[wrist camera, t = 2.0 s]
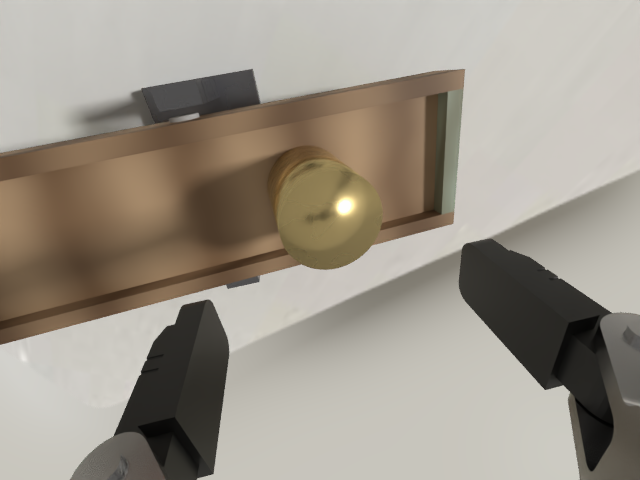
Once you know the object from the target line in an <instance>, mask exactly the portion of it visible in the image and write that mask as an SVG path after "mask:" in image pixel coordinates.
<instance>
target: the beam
mask: <svg viewBox="0 0 640 480" xmlns="http://www.w3.org/2000/svg"><path fill="white" fill-rule="evenodd" d="M464 74H465V69H461V70H443V71H432V72H427V73H422V74H417V75H411V76H406V77H401V78H395V79H390V80H385V81H379V82H374V83H369V84H364V85H358V86H353V87H348V88H342V89H337V90H332V91H327V92H321V93H316V94H311V95H305V96H300V97H295V98H290V99H284V100H279V101H274V102H268V103H263V104H258V105H253V106H247V107H242V108H237V109H231V110H226V111H221V112H216V113H210V114H205V115H200V116H199V113H191V114H186V115H181V116H176V117H172V118H169V121H168V122H163V123H157V124H152V125H147V126H141V127H136V128H131V129H126V130H120V131H115V132H110V133H104V134H99V135H94V136H89V137H83V138H78V139H73V140H67V141H62V142H57V143H52V144H46V145H41V146H36V147H30V148H25V149H20V150H15V151H9V152H4V153H0V345H1V344H5V343H9V342H12V341H16V340H20V339H24V338H27V337H31V336H35V335H39V334H42V333H46V332H50V331H54V330H57V329H61V328H65V327H69V326H72V325H76V324H80V323H84V322H87V321H91V320H95V319H98V318H102V317H106V316H110V315H113V314H117V313H121V312H125V311H128V310H132V309H136V308H140V307H143V306H147V305H151V304H155V303H158V302H162V301H166V300H170V299H173V298H177V297H181V296H184V295H188V294H192V293H196V292H199V291H203V290H207V289H211V288H214V287H218V286H222V285H226V284H229V283H233V282H237V281H241V280H244V279H248V278H252V277H256V276H259V275H263V274H267V273H270V272H274V271H278V270H282V269H285V268H289V267H293V266H297V265H300V264H301V263H299V262H297V261H296V260H295V259H293V258H292V257H291V256H290V255H289V254H288V252H287V251H286V249H285V248H284V246H283V244H282V241H281V238H280V234H279V231H278V227H277V224H276V220H275V217H274V213H273V209H272V206H271V202H270V199H269V195H268V190H267V182H268V176H269V173H270V170H271V168H272V166H273V165H274V163H275V162H276V160H277V159H278V158H279V157H280V156H281V155H283V154H284V153H285V152H287V151H289V150H290V149H293V148H295V147H299V146H317V147H320V148H323V149H325V150H327V151H328V152H330V153H331V154H332V155H334V156H335V157H336V158H338V159H339V160H340V161H342V162H343V163H344V164H346V165H347V166H348V167H350V168H351V169H352V170H354V171H355V172H356V173H358V174H359V175H360V176H362V177H363V178H364V179H366V180H367V181H368V182H369V183H370V184H371V185H372V186H373V187H374V188H375V190H376V192H377V193H378V195H379V198H380V200H381V204H382V210H383V218H382V224H381V228H380V231H379V234H378V236H377V238H376V240H375V241H374V243H373V244H372V245H375V244H379V243H383V242H386V241H390V240H394V239H398V238H401V237H405V236H409V235H413V234H416V233H420V232H424V231H428V230H431V229H435V228H439V227H443V226H446V225H450V224H453V220H454V207H455V194H456V180H457V167H458V154H459V140H460V127H461V114H462V100H463V87H464Z"/></svg>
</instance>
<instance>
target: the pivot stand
mask: <svg viewBox="0 0 640 480" xmlns="http://www.w3.org/2000/svg"><path fill="white" fill-rule="evenodd" d="M142 92H143V94H144V97H145V99H146V102H147V104H148V107H149V109H150V112H151V114H152V117H153V119H154V122H155V124H157V123H163V122H168V121H169V118H172V117H176V116H181V115H186V114H191V113H199V116H200V115H205V114H210V113H216V112H221V111H226V110H231V109H237V108H242V107H247V106H253V105H258V104H261V103H260V98H259V94H258V90H257V85H256V81H255V77H254V72H253V69H250V70H245V71H239V72H233V73H227V74H222V75H216V76H210V77H205V78H199V79H193V80H188V81H182V82H176V83H170V84H165V85H159V86H153V87H148V88H142ZM259 280H260V275H259V276H256V277H252V278H248V279H244V280H241V281H237V282H233V283H229V284H226V286H227V288H228V289H229V288H233V287H238V286H243V285H247V284H252V283H256V282H259Z"/></svg>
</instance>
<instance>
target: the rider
mask: <svg viewBox="0 0 640 480" xmlns="http://www.w3.org/2000/svg"><path fill="white" fill-rule="evenodd" d="M267 190H268V195H269V199H270V202H271V206H272V209H273V213H274V217H275V220H276V224H277V227H278V231H279V234H280V238H281V241H282V244H283V246H284V248H285V249H286V251H287V252H288V254H289V255H290V256H291V257H292V258H293V259H295V260H296V261H297V262H299V263H301V264H302V265H305V266H307V267H310V268H314V269H324V270H327V269H335V268H339V267H342V266H345V265H348V264H350V263H352V262H353V261H355V260H357V259H358V258H359V257H361V256H362V255H363V254H364V253H365V252H366V251H367V250H368V249H369V248H370V247H371V246H372V244H373V243H374V241H375V240H376V238H377V236H378V234H379V231H380V228H381V224H382V218H383V210H382V204H381V200H380V198H379V195H378V193H377V192H376V190H375V188H374V187H373V186H372V185H371V184H370V183H369V182H368V181H367V180H366V179H364V178H363V177H362V176H360V175H359V174H358V173H356V172H355V171H354V170H352V169H351V168H350V167H348V166H347V165H346V164H344V163H343V162H342V161H340V160H339V159H338V158H336V157H335V156H334V155H332V154H331V153H330V152H328V151H327V150H325V149H323V148H320V147H317V146H299V147H295V148H293V149H290V150H289V151H287V152H285V153H284V154H283V155H281V156H280V157H279V158H278V159H277V160H276V162H275V163H274V165H273V166H272V168H271V170H270V173H269V176H268V182H267Z"/></svg>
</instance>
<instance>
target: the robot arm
mask: <svg viewBox="0 0 640 480" xmlns="http://www.w3.org/2000/svg"><path fill="white" fill-rule="evenodd" d="M459 289H460V292H461V295H462V297H463V299H464V300H465V301H466V303H467V304H468V305H469V306H470V307H471V308H472V309H473V310H474V311H475V313H476V314H477V315H478V316H479V317H480V318H481V319H482V320H483V321H484V323H485V324H486V325H487V326H488V327H489V328H490V329H491V330H492V331H493V333H494V334H495V335H496V336H497V337H498V338H499V339H500V340H501V342H502V343H503V344H504V345H505V346H506V347H507V348H508V349H509V350H510V351H511V353H512V354H513V355H514V356H515V357H516V358H517V359H518V360H519V362H520V363H521V364H522V365H523V366H524V367H525V368H526V369H527V370H528V372H529V373H530V374H531V375H532V376H533V377H534V378H535V379H536V380H537V382H538V383H539V384H540V385H541V386H542V387H543V388H544V389H545V390H547V389H551V388H554V387H559V386H562V385H564V386H565V387H566V388H567V389H568V390H569V391H570V394H569V397H568V405H569V410H570V417H571V424H572V430H573V436H574V443H575V449H576V455H577V461H578V468H579V474H580V480H640V315H638V314H632V313H611V312H610V311H608V310H606V309H605V308H604V307H602V306H601V305H599V304H598V303H596V302H595V301H593V300H592V299H590V298H589V297H587V296H586V295H585V294H583V293H582V292H580V291H579V290H577V289H576V288H574V287H573V286H571V285H570V284H568V283H567V282H565V281H564V280H562V279H558V276H556V275H555V274H553V273H552V272H550V271H549V270H545V268H544V267H543V266H542V265H540V264H539V263H537V262H536V261H534V260H533V259H531V258H530V257H527V256H525V255H522V254H519V253H517V252H514V251H511V250H510V251H508V250H507V249H506V248H504V247H503V246H502V245H500V244H499V243H497V242H496V241H494V240H493V239H485V240H480V241H476V242H471V243H467V244H465V245H464V246H463V248H462V255H461V266H460V275H459ZM228 359H229V344H228V339H227V336H226V333H225V331H224V328H223V326H222V324H221V321H220V319H219V317H218V314H217V312H216V310H215V307H214V305H213V303H212V302H211V300H204V301H199V302H195V303H190V304H186V305H183V306H182V307H181V309H180V312H179V314H178V317H177V320H176V323H175V325H171V326H167V327H166V328H165V329H164V330H163V331H162V333H161V334H160V335H159V336H158V337H157V338H156V340H155V341H154V342H153V345H152V347H151V349H150V352H149V354H148V356H147V361H145V363H144V366H143V368H142V371H141V375H140V376H139V378H138V380H137V382H136V385H135V387H134V389H133V392H132V394H131V396H130V399H129V401H128V403H127V406H126V408H125V411H124V413H123V415H122V418H121V420H120V422H119V425H118V427H117V429H116V432H115V434H114V436H113V437H112V438H110V439H108V440H106V441H105V442H104V443H102V444H100V445H99V446H98V447H97V448H95V449H94V450H93V451H92V452H91V453H90V454H89V455H88V456H87V457H86V458H85V459H84V460H83V461H82V462H81V464H80V465H79V466H78V468H77V469H76V470H75V472H74V474H73V475H72V477H71V479H70V480H197V478H200V477H204V476H208V475H211V474H213V473H214V465H215V457H216V450H217V442H218V434H219V427H220V420H221V412H222V404H223V397H224V389H225V382H226V373H227V367H228Z"/></svg>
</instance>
